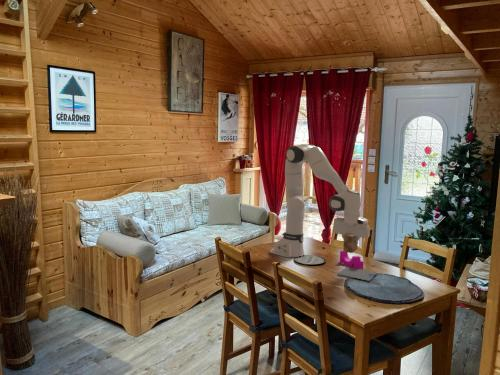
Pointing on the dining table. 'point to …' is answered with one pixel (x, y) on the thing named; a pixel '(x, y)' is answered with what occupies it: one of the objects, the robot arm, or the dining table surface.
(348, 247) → the walnut block
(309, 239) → the dining table surface
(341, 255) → the toy block
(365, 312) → the dining table surface
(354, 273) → the mat
